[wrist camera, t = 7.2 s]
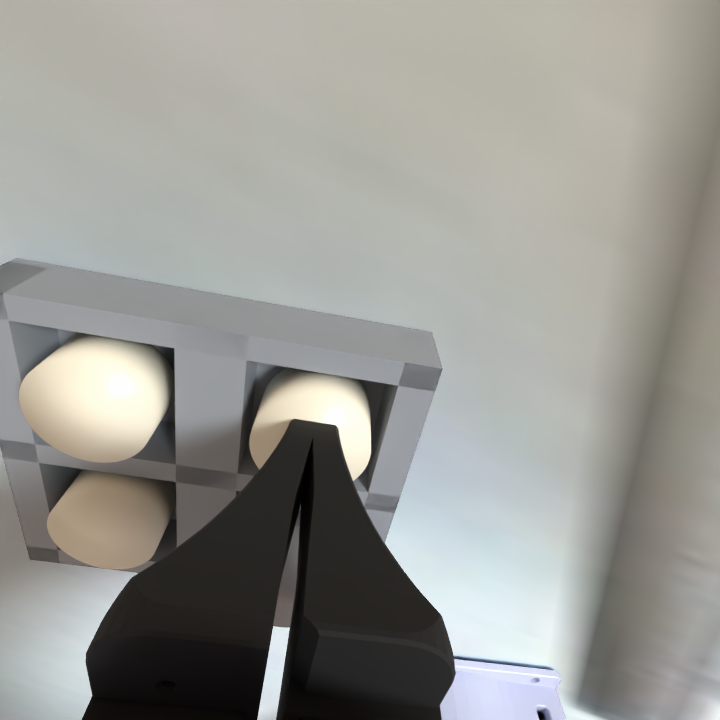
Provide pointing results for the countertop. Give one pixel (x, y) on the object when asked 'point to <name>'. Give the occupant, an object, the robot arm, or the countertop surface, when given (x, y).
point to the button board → (200, 390)
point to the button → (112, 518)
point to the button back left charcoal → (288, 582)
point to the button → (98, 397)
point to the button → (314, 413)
